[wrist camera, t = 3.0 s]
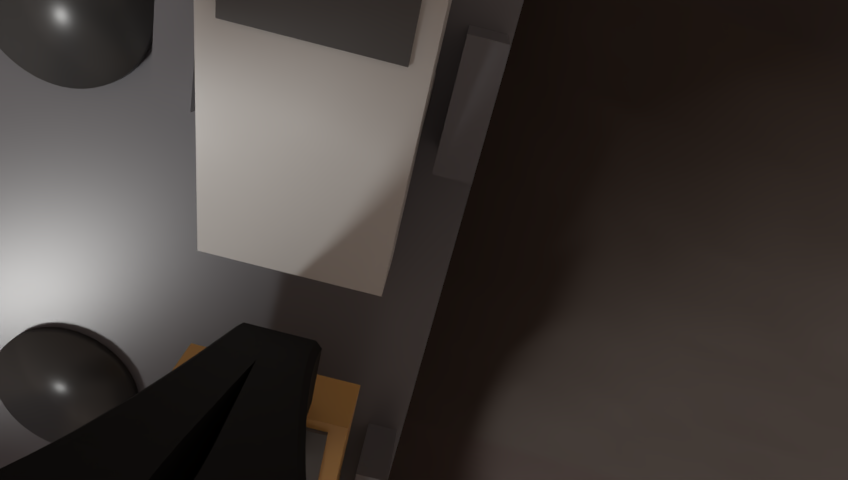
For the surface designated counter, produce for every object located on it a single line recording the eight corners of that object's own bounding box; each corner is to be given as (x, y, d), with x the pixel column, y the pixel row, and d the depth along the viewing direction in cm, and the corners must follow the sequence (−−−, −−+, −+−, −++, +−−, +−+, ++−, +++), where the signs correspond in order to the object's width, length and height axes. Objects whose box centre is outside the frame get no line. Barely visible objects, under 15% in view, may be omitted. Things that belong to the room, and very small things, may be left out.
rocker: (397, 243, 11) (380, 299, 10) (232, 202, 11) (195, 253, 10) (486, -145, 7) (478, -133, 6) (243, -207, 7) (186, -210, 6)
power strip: (325, 678, 21) (288, 843, 17) (69, 616, 21) (-29, 769, 17) (573, -220, 10) (629, -337, 6) (56, -358, 10) (-212, -564, 6)
